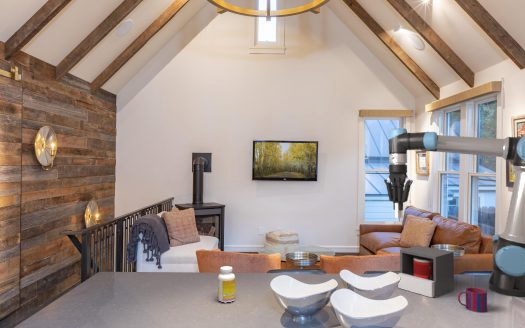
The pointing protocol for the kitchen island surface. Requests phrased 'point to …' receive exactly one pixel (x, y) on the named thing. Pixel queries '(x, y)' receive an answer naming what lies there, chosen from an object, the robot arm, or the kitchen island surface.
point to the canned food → (423, 268)
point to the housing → (441, 266)
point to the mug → (475, 299)
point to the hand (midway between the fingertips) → (398, 217)
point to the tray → (417, 285)
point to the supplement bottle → (226, 284)
